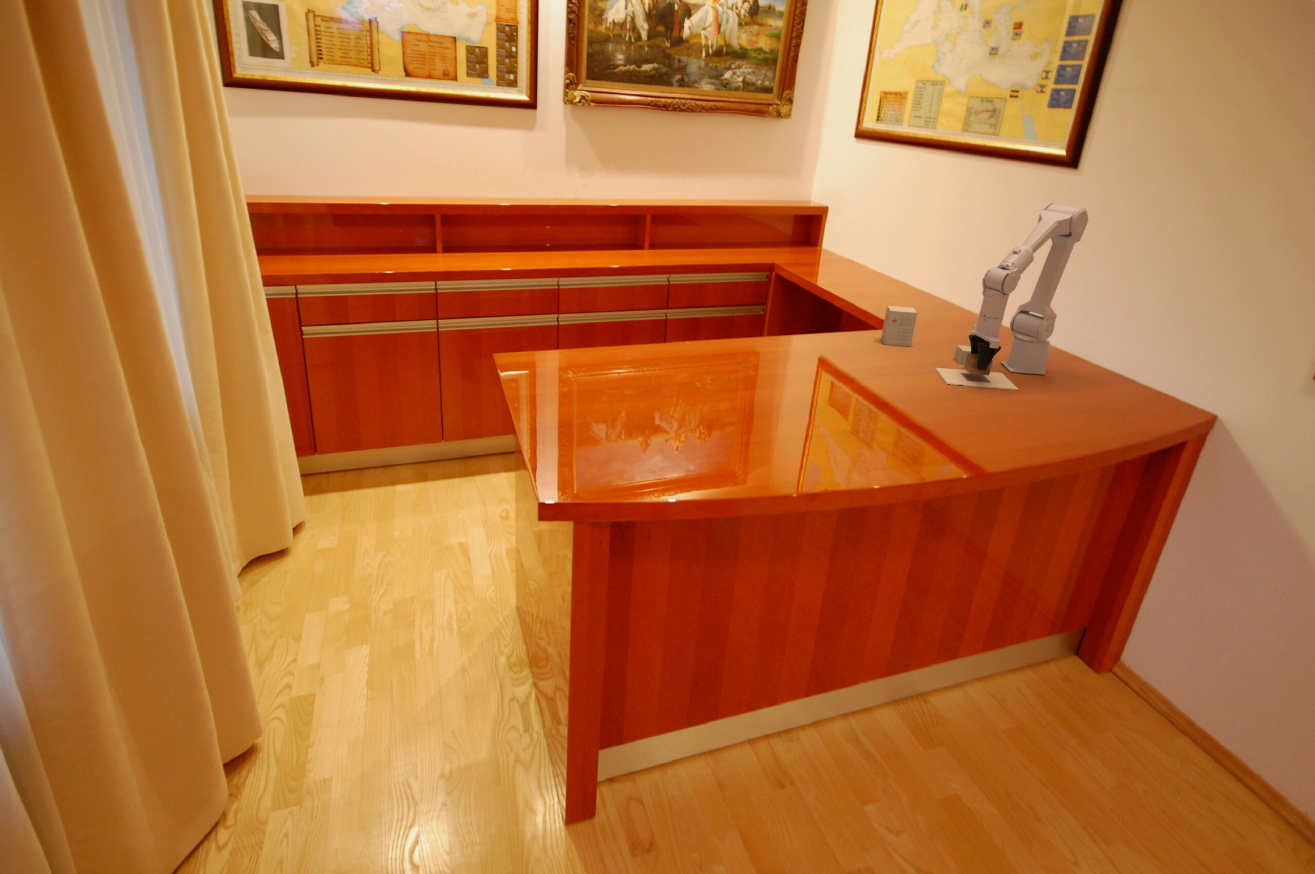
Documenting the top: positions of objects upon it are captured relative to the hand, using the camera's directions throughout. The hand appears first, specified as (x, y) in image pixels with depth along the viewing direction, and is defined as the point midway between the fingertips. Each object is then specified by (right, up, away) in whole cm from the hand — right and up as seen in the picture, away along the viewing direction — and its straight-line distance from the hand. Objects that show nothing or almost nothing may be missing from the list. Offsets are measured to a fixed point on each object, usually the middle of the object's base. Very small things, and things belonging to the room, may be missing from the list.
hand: (978, 365), depth 196 cm
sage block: (+3, +3, +15) cm, 16 cm away
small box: (-13, +9, +28) cm, 32 cm away
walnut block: (0, -1, +1) cm, 2 cm away
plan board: (0, -3, +2) cm, 4 cm away
